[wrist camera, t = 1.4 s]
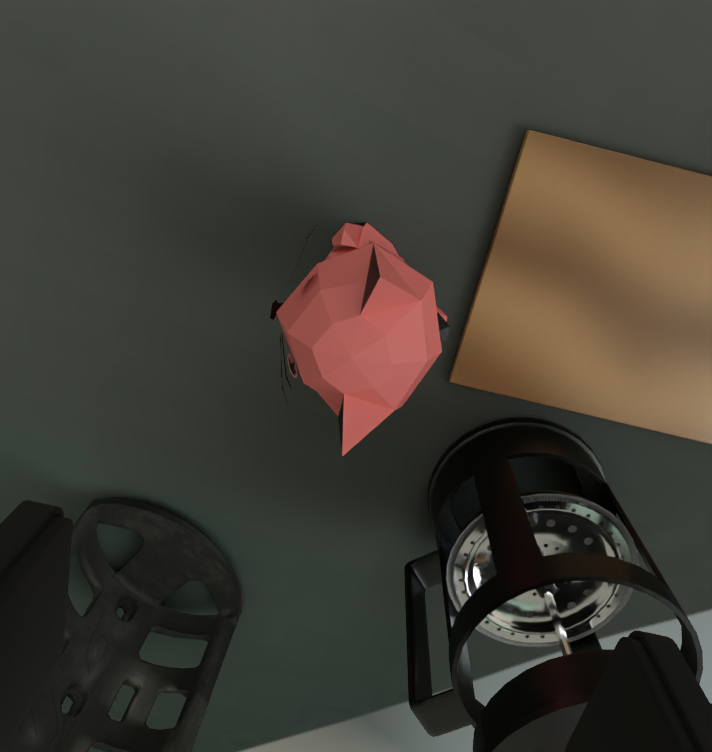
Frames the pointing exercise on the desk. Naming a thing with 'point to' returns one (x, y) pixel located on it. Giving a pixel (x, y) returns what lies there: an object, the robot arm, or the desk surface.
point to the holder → (133, 638)
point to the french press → (526, 587)
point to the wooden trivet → (598, 290)
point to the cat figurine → (362, 330)
